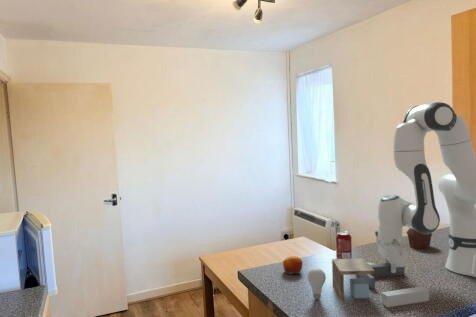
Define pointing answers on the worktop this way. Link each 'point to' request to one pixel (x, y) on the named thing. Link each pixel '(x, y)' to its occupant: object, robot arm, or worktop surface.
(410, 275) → the worktop surface
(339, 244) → the soda can
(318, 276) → the lightbulb
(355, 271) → the shelf
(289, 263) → the fruit
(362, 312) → the worktop surface
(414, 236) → the muffin
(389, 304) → the grey stick
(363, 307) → the worktop surface
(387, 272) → the hook tool
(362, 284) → the block
